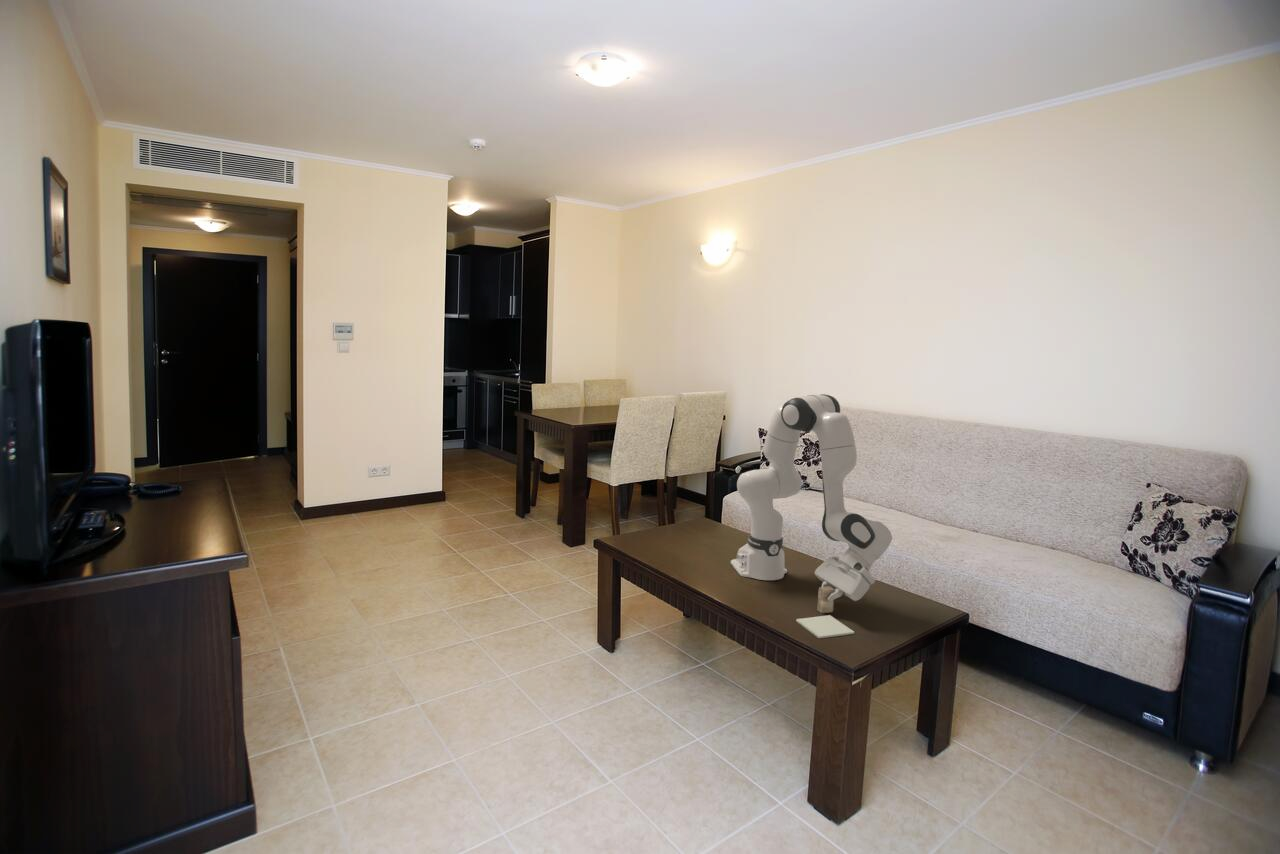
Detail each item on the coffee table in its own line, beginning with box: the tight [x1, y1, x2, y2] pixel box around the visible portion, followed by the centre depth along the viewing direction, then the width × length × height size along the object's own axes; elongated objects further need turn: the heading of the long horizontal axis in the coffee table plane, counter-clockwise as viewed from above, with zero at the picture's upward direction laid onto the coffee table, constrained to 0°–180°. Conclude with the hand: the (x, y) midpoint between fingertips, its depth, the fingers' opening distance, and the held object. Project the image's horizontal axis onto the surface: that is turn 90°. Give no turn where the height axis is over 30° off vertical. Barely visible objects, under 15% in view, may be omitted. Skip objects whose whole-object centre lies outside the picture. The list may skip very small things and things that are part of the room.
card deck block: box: [816, 586, 835, 614], centre depth 205 cm, size 3×4×8 cm
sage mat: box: [795, 614, 855, 639], centre depth 194 cm, size 12×12×1 cm
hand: (824, 597), depth 205 cm, fingers closed on card deck block, 3 cm apart
